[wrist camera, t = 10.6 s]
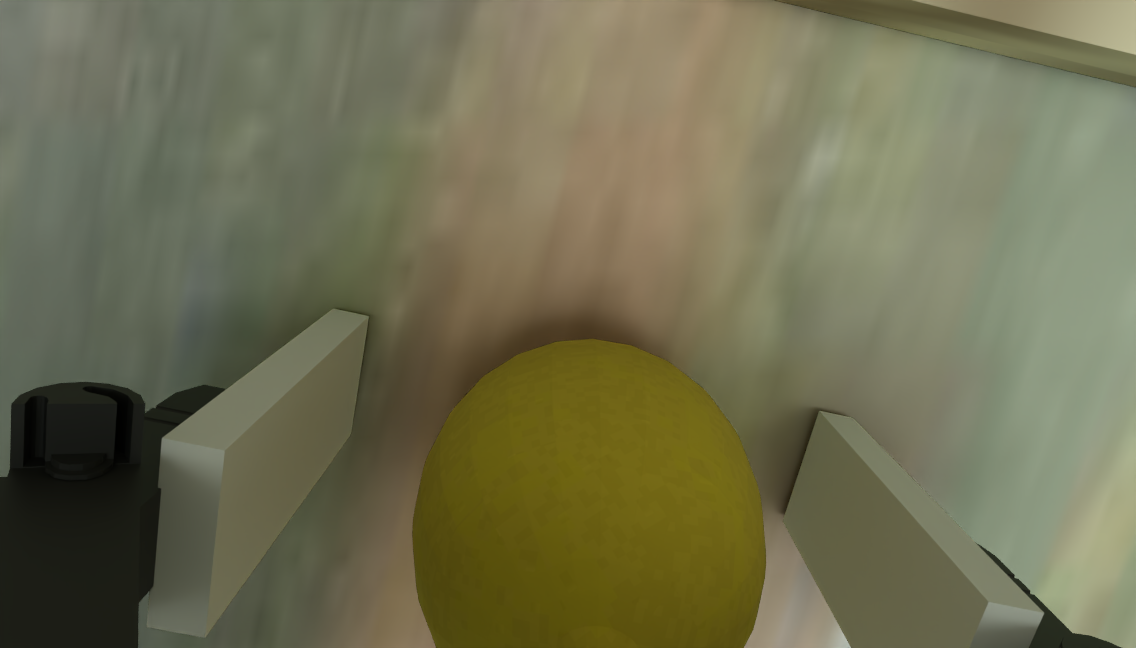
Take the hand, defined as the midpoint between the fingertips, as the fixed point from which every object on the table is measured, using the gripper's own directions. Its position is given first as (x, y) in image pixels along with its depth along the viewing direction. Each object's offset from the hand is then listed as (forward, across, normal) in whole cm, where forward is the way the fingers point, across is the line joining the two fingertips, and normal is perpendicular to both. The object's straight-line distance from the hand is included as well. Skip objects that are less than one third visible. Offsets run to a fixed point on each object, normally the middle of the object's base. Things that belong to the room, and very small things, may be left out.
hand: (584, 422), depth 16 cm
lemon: (0, 0, 0) cm, 0 cm away
